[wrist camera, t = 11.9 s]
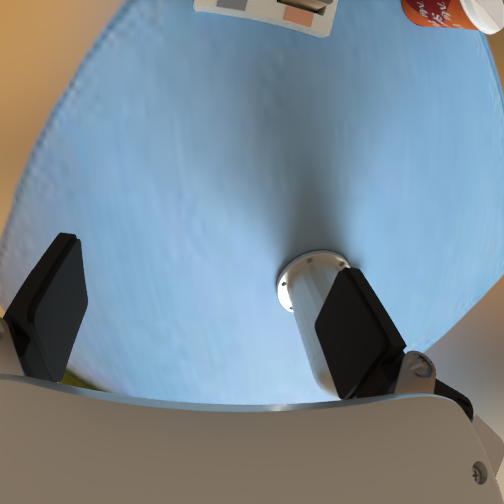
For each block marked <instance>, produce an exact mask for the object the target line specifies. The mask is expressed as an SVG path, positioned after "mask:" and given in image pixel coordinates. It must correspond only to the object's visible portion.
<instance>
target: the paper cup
mask: <svg viewBox="0 0 504 504" xmlns="http://www.w3.org/2000/svg"><path fill="white" fill-rule="evenodd" d="M402 8H403V11H404V13H405V15H406V16H407V17H408V19H409V20H410V21H412V22H413V23H415V24H416V25H419V26H429V27H448V28H462V29H472V30H480V31H482V32H484V33H486V34H494V33H495V32H497V31H500V29H502V28H503V26H504V4H503V2H502V0H402Z"/></svg>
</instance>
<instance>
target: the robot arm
mask: <svg viewBox="0 0 504 504" xmlns="http://www.w3.org/2000/svg"><path fill="white" fill-rule="evenodd" d="M276 289H277V295H278V299H279V301H280V303H281V304H282V305H283V306H284V308H286V309H287V310H289V311H291V312H293V313H294V316H295V319H296V322H297V326H298V329H299V332H300V335H301V338H302V341H303V344H304V348H305V351H306V354H307V357H308V360H309V364H310V367H311V370H312V373H313V376H314V379H315V381H316V383H317V385H318V386H319V387H320V388H321V389H322V390H323V391H324V392H325V393H327V394H328V395H330V396H332V397H334V398H336V399H338V400H339V401H329V402H316V403H300V404H276V405H227V404H203V403H188V402H175V401H164V400H155V399H146V398H138V397H131V396H124V395H118V394H112V393H106V392H100V391H95V390H89V389H84V388H79V387H74V386H69V385H64V384H60V383H57V381H58V382H61V381H62V379H63V376H64V372H65V369H66V366H67V363H68V359H69V356H70V353H71V350H72V347H73V344H74V342H75V339H76V336H77V333H78V330H79V328H80V325H81V322H82V319H83V317H84V314H85V312H86V309H87V305H88V297H87V290H86V283H85V276H84V268H83V259H82V249H81V241H80V239H77V238H76V235H75V234H69V233H59V234H58V235H57V237H56V238H55V239H54V241H53V242H52V244H51V245H50V246H49V248H48V249H47V250H46V252H45V253H44V255H43V256H42V257H41V259H40V260H39V262H38V263H37V265H36V266H35V267H34V269H33V270H32V271H31V273H30V274H29V276H28V277H27V279H26V280H25V282H24V283H23V285H22V286H21V288H20V290H19V291H18V293H17V294H16V296H15V298H14V299H13V301H12V303H11V304H10V306H9V308H8V309H7V311H6V313H5V315H4V316H3V318H1V317H0V504H504V502H503V499H502V495H501V492H500V489H499V486H498V483H497V480H496V478H495V477H496V474H497V472H498V470H499V467H500V465H501V462H502V459H503V457H504V443H503V441H502V440H501V438H500V437H499V436H498V435H497V434H496V433H495V432H494V431H493V430H492V429H491V428H490V427H489V426H488V425H486V423H484V422H483V420H482V419H480V418H479V417H478V416H477V415H474V416H473V407H472V405H471V402H470V400H469V399H468V398H467V397H465V396H464V395H463V394H461V393H459V392H458V391H456V390H454V389H453V388H451V387H449V386H448V385H446V384H444V383H443V382H441V381H439V380H437V379H436V369H435V366H434V364H433V362H432V361H431V360H430V359H429V358H428V357H427V356H426V355H424V354H423V353H421V352H418V351H408V352H407V353H406V354H405V353H404V351H403V350H404V348H405V347H406V346H407V345H406V344H405V342H404V340H403V338H402V337H401V335H400V333H399V332H398V330H397V328H396V326H395V325H394V323H393V321H392V320H391V318H390V316H389V315H388V313H387V311H386V310H385V308H384V307H383V305H382V303H381V302H380V300H379V299H378V297H377V295H376V294H375V292H374V291H373V289H372V287H371V286H370V284H369V283H368V281H367V280H366V278H365V277H364V275H363V273H362V272H361V270H360V269H357V268H350V265H349V264H348V262H347V261H346V260H345V259H344V258H343V256H341V255H339V254H338V253H335V252H332V251H326V250H318V251H312V252H308V253H306V254H303V255H301V256H299V257H297V258H296V259H294V260H293V261H292V262H290V263H289V264H288V265H287V266H286V267H285V268H284V269H283V271H282V273H281V274H280V276H279V278H278V281H277V287H276Z"/></svg>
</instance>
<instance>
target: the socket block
mask: <svg viewBox="0 0 504 504" xmlns="http://www.w3.org/2000/svg"><path fill="white" fill-rule="evenodd" d="M337 4H338V0H333V3H331V4H328V5H326V6H324V7H322V8H320V9H318V11H317V14H316V13H313V12H309V11H306V10H303V9H300V8H296V7H293V6H289V5H285V4H281V3H277V0H195V1H194V5H193V6H194V10H195V11H198V12H207V13H214V14H221V15H228V16H234V17H239V18H245V19H250V20H255V21H260V22H264V23H268V24H273V25H277V26H281V27H285V28H288V29H292V30H296V31H299V32H303V33H306V34H309V35H312V36H316V37H319V38H323V37H327V36H330V33H331V29H332V25H333V21H334V17H335V12H336V8H337Z"/></svg>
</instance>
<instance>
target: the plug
mask: <svg viewBox="0 0 504 504" xmlns="http://www.w3.org/2000/svg"><path fill="white" fill-rule="evenodd" d="M279 3H281V4H285V5H289V6H293V7H296V8H300V9H303V10H306V11H309V12H314V11H316V10H318V9H320V8H322V7H324V6H326V5H328V4H331V3H333V0H279Z"/></svg>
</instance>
